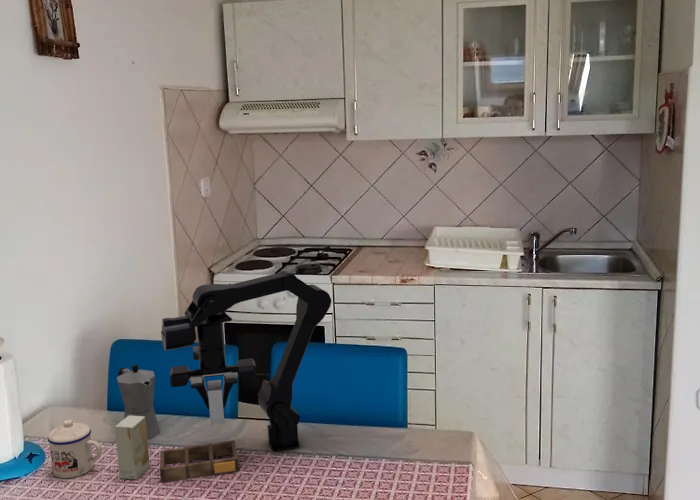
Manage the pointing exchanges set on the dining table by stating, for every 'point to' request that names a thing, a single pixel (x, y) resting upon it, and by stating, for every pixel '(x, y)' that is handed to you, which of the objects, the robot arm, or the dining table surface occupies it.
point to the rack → (201, 467)
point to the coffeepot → (139, 396)
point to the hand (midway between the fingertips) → (216, 408)
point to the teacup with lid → (72, 449)
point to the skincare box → (132, 447)
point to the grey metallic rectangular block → (215, 402)
